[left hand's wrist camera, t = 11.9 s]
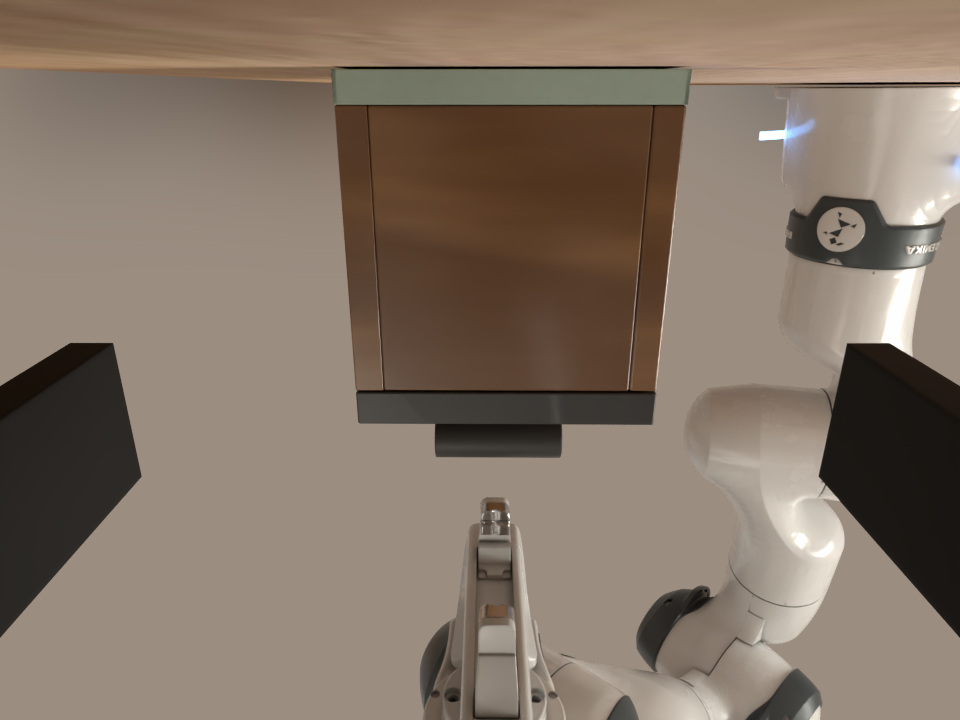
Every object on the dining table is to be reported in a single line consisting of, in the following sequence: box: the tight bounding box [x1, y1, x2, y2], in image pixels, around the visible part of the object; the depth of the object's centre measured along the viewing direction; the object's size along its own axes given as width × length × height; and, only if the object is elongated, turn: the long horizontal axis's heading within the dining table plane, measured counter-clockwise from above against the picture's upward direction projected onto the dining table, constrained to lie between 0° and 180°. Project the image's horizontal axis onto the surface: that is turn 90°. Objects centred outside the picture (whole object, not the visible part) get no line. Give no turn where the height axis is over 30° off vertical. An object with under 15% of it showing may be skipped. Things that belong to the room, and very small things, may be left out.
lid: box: [356, 389, 656, 458], centre depth 29 cm, size 15×9×9 cm, turn 1°
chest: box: [331, 69, 692, 391], centre depth 26 cm, size 15×9×9 cm, turn 1°
